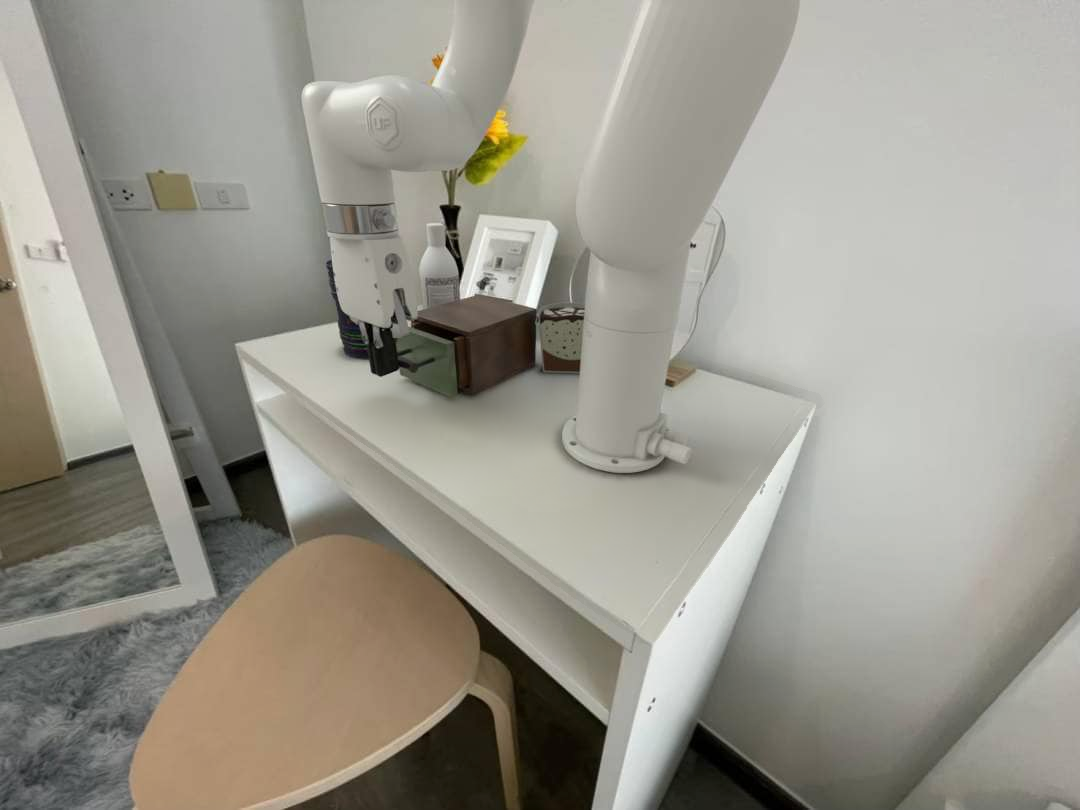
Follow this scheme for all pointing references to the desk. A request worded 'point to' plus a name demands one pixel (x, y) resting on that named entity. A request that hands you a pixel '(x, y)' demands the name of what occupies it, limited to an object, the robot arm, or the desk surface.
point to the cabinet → (488, 337)
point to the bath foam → (438, 270)
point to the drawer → (434, 358)
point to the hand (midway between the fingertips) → (385, 371)
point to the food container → (561, 336)
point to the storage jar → (347, 325)
